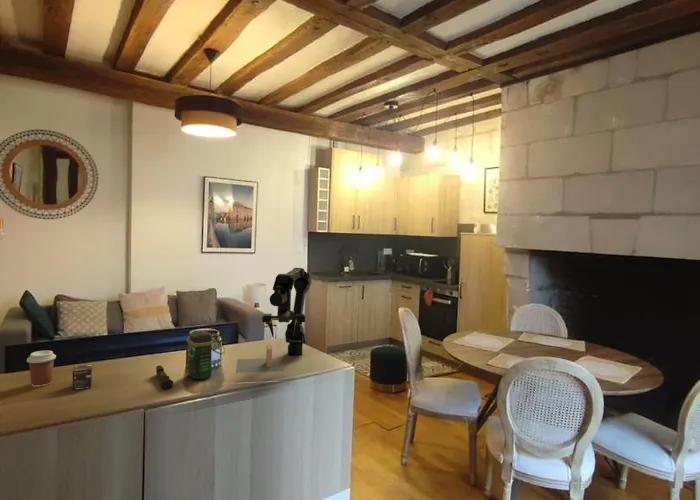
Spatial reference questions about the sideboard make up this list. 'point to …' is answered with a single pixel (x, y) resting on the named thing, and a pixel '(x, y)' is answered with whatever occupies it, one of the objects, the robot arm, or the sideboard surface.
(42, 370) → the coffee cup
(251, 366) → the mat
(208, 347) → the coffee jar
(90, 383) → the box
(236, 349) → the sideboard surface
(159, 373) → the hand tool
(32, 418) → the sideboard surface
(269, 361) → the tile
